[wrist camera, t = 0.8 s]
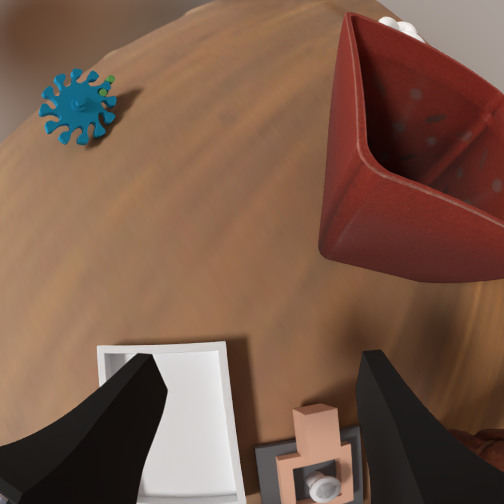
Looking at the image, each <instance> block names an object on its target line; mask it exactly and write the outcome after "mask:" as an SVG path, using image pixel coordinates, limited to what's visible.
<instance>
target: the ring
mask: <svg viewBox="0 0 504 504" xmlns="http://www.w3.org/2000/svg"><path fill="white" fill-rule="evenodd" d="M293 418H294V427H295V436H296V445H297V453H292V454H287V455H281V456H276V464H277V472H278V481H279V489H280V497H281V504H344V503H347V502H350V501H353V500H354V499H353V474H352V457H351V444H350V443H348V442H346V441H343V442H340V432H339V421H338V411H337V408H335V407H331V406H328V405H325V404H322V403H319V404H315V405H310V406H305V407H299V408H294V409H293ZM333 459H335V464H336V478H337V480H338V481H339V482H340V484H341V490H340V493H339V494H338V496H337V497H336V498H335V499H333V500H332V501H330V502H326V503H318V502H316V501H314V500H313V499H312V498H308V499H304V500H299V501H296V497H295V487H294V478H293V469H295V468H300V467H304V466H309V465H313V464H317V463H321V462H325V461H329V460H333Z"/></svg>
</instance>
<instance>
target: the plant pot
mask: <svg viewBox="0 0 504 504" xmlns="http://www.w3.org/2000/svg"><path fill="white" fill-rule="evenodd" d="M318 248H319V251H320V253H321V255H322V256H323V257H325V258H326V259H329V260H333V261H337V262H341V263H345V264H350V265H354V266H358V267H362V268H366V269H370V270H374V271H378V272H382V273H386V274H390V275H394V276H398V277H402V278H406V279H410V280H414V281H418V282H431V283H461V282H478V281H489V280H496V279H503V278H504V94H503V93H502V92H500V91H499V90H498V89H497V88H495V87H494V86H493V85H491V84H490V83H488V82H487V81H486V80H484V79H483V78H482V77H480V76H479V75H477V74H476V73H474V72H473V71H471V70H470V69H468V68H467V67H465V66H464V65H462V64H461V63H459V62H457V61H455V60H454V59H452V58H450V57H449V56H447V55H445V54H444V53H442V52H440V51H438V50H437V49H435V48H433V47H431V46H429V45H427V44H425V43H423V42H421V41H420V40H418V39H416V38H414V37H412V36H410V35H407V34H405V33H403V32H401V31H399V30H397V29H394V28H392V27H390V26H387V25H385V24H382V23H380V22H377V21H375V20H372V19H370V18H367V17H365V16H362V15H359V14H355V13H351V12H347V13H345V16H344V20H343V25H342V29H341V34H340V40H339V45H338V51H337V58H336V65H335V72H334V80H333V88H332V97H331V106H330V118H329V130H328V144H327V160H326V174H325V185H324V196H323V205H322V214H321V223H320V232H319V240H318Z"/></svg>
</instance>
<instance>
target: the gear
mask: <svg viewBox="0 0 504 504" xmlns="http://www.w3.org/2000/svg"><path fill="white" fill-rule="evenodd" d="M81 74H82V70H80V69H73V71H72V73H71V84H70V86H68V87H65V86H64V85H63V82H64V80H65V78H66V77H65V74H60V75H57V76H56V77H55V79H54V83H55V84H56V85H57V86H58V88H59V91H60V95H59V96H55V95H54V94H53V88H52V87H51V86H48V87H47V88H46V89H45V90H44V91H43V93H42V97H43V98H44V99H49V100H51V101H52V102H53V103H54V104H55V106H56V108H55V109H51V108H50V107H49V106H48V105H47V104H42V105H41V108H40V111H39V116H40V117H44V116H47V115H53V116H56V117H58V118H59V122H54V121H48V122H46V124H45V130H46V132H47V134H51V133H52V132H53V131H54V130H55V129H56V128H58V127H60V126H68V127H69V131H66V132H63V133H61V135H60V136H59V138H58V140H59V141H60V142H61V143H63V144H64V145H65V144H67V143H68V141H69V140H70V136H71V133H72V132H73V131H74V130H75V129H77V128H80V129H81V130H82V134H81V135H80V136H79V137H78V138H77V141H76V142H77V144H79V145H86V144H87V143H88V141H89V137H88V134H87V129H88V126H89V124H93V125H94V126H95V129H94V132H93V136H94V137H95V138H98V137H101V136H102V135H104V134H105V129H104V128H103V127H102V126H101V125H100V123H99V120H98V115H99V114H100V115H102V116H103V119H104V123H105V124H107V125H108V124H110V123H111V122H112V121H113V120H114V118H115V117H116V116H115V115H114V114H113V113H110V112H108V111H106V110H105V109H104V108H103V107H102V105H101V102H103V103H105V104H106V105H107V107H109V108H113V107H114V106H115V104H116V99H117V98H116V97H115V96H111V97H105V96H106V95H107V94H108V91H109V90H110V89H111V86H110V85H111V84H112V83H113V82H114V80H115V77H114V76H112V75H110V76H108V77H107V79H106V80H105V81H104V82H103V83H102V84H101V85H99V86H90V85H89V84H88V83H89V82H95V81H96V80H97V78H98V77H99V75H98V74H97V73H96V72H95V71H91V72H90V74H89V75H88V77H87V79H86V80H85V81H84V82H82V83H77V82H76V80H77V79H78V78H79V77H80V76H81Z"/></svg>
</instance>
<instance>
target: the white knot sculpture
mask: <svg viewBox="0 0 504 504" xmlns="http://www.w3.org/2000/svg"><path fill="white" fill-rule="evenodd" d="M378 22H380V23H382V24H385V25H387V26H390V27H392V28H394V29H397V30H399V31H401V32H403V33H405V34H407V35H410V36H412V37H414V38H416V39H418V40H420V41H421V42H423V43H425V42H424V40H423V39H422V38H421V37H420V36H419V35H417V31H416V29H415V27H414V26H413V25H412V24H410V23H407V22H396V21H395V20H394V19H392V18H390V17H383V18H381V19H380V20H379V21H378ZM425 44H426V43H425Z"/></svg>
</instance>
